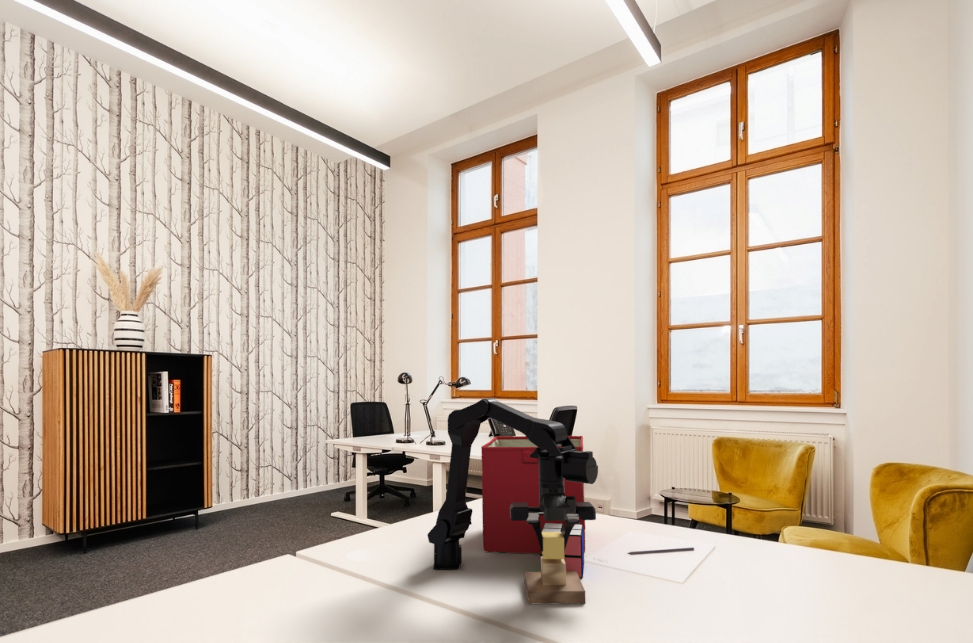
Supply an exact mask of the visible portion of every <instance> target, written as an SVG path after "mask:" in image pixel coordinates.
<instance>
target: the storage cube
mask: <svg viewBox="0 0 973 643" xmlns="http://www.w3.org/2000/svg"><path fill="white" fill-rule="evenodd" d="M568 437H569V438H570V440H571V441H572V443H573V444H574V446H575V447H576V449H577V451H582V452H584V437H583V436H582V435H568ZM536 448H537V446H536V445H534V444H533V443H532V442H530V441H529V440H528V438H527V437H526V436H525V435H520V436H519V435H518V436H512V435H511V436H494V437H493V438H492V439H491V440H490V441H488V442H486V443H485V444H484V445H482V446H481V486H482V487H481V488H482V489H481V492H482V494H481V497H482V500H481V502H482V503H481V505H482V512H481V513H482V548H483V551H484V552H485V551H486V553H494V552H506V553H505V554H530V555H531V554H532V555H533V554H536V555H541V549H540V545H539V542H538V538H537V535H536V533H535V530H534V528H533V526H532V525H531V524H527V522H526V520H525V521H513V520H511V518H510V505H511V503H512V502H527V504H528V507H539V466H538V458H531V457H530V454H532V453H533V452H534V451H535V449H536ZM558 448H561V447H558ZM564 494H565V496H575V500H576V502H585V483H579V482H570V481H567V480H566V479H565V478H564ZM578 519H579V521H580V523H579V524H577V525H583V531H584V554H585V553H586V520H581V519H580V518H579V517H578ZM539 520H540V524H541V531H542V529H543V526H544V524H545V523H553V524H563V521H560V520H552V521H546V520H545V519H544V515H539Z"/></svg>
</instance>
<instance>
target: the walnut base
mask: <svg viewBox="0 0 973 643" xmlns="http://www.w3.org/2000/svg"><path fill="white" fill-rule="evenodd" d="M524 586H525V590H526V597H527V602H528V603H529V604H528V605H533V604H532V603H583V604H586V590H585V587H584V585H583V583H582V581H581V578H579V576H578V574H577V572H576V571H566V585H543V583H542V579H541V571H524Z"/></svg>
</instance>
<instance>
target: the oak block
mask: <svg viewBox="0 0 973 643" xmlns="http://www.w3.org/2000/svg"><path fill="white" fill-rule="evenodd" d="M540 572H541V579H542V583H543V585H566V563H565V561H564V559H544V558H543V557H541V556H540Z"/></svg>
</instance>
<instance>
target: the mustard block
mask: <svg viewBox="0 0 973 643" xmlns="http://www.w3.org/2000/svg"><path fill="white" fill-rule="evenodd" d="M542 540H543V551H542V555H543V558H544V559H564V537H563V535H562V532H542Z"/></svg>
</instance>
